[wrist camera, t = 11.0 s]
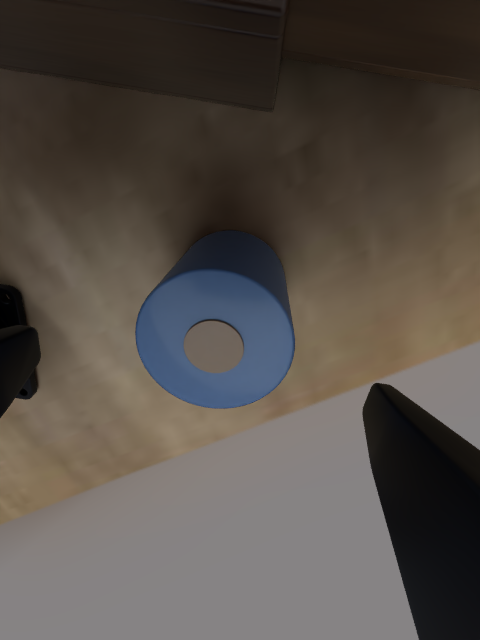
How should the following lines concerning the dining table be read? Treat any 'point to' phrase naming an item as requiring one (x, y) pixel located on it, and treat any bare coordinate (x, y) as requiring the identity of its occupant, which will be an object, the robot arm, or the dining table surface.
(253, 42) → the cabinet
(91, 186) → the dining table surface
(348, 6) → the drawer
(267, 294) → the towel roll
